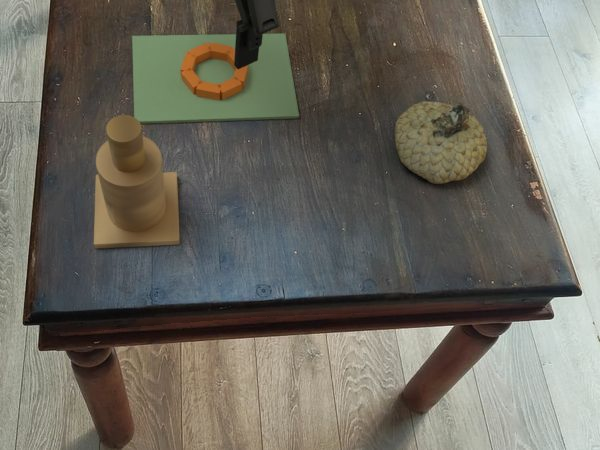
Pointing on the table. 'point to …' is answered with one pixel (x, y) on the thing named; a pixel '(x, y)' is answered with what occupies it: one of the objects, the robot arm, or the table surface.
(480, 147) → the acorn cap
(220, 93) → the ring
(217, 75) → the mat
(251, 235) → the table surface
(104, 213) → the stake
